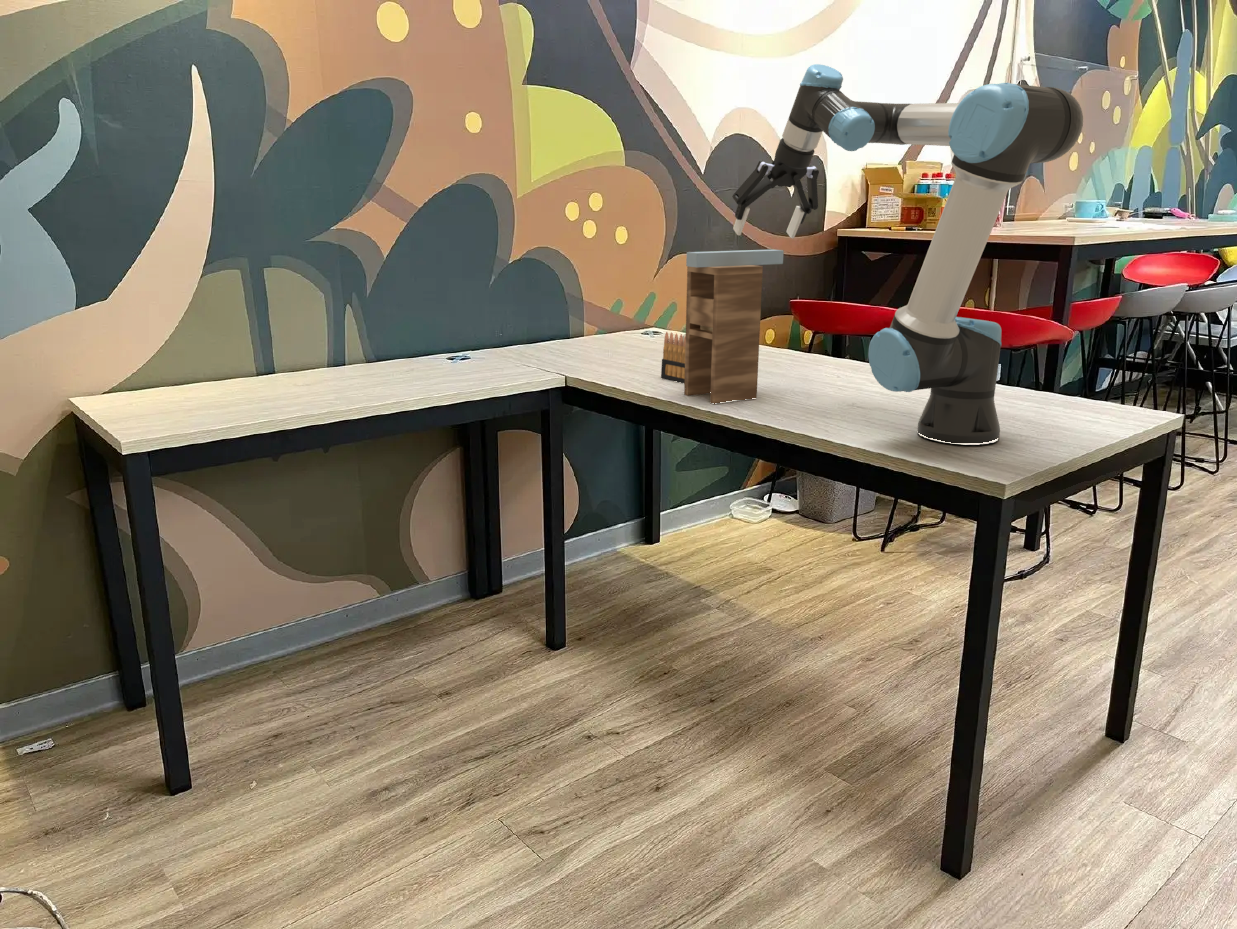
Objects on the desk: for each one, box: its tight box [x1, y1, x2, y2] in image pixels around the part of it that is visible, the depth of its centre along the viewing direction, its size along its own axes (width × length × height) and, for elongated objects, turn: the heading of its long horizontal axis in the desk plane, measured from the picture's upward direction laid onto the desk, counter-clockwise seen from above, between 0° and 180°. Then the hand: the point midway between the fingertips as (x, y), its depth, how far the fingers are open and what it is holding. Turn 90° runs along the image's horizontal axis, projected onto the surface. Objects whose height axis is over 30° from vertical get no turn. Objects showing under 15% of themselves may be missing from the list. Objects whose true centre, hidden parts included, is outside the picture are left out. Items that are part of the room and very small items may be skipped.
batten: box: [685, 249, 784, 267], centre depth 209 cm, size 4×24×3 cm, turn 120°
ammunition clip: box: [660, 331, 686, 384], centre depth 233 cm, size 11×2×12 cm, turn 39°
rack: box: [683, 265, 764, 405], centre depth 212 cm, size 12×12×32 cm
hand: (763, 233), depth 207 cm, fingers open, 13 cm apart
